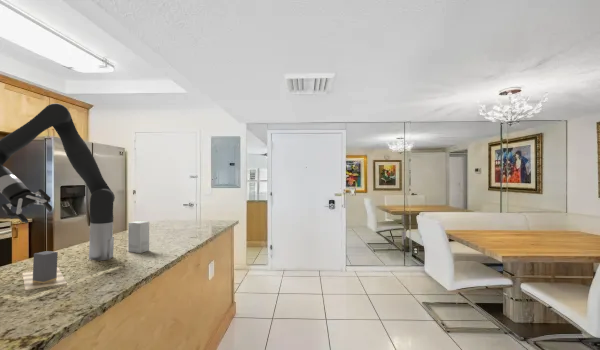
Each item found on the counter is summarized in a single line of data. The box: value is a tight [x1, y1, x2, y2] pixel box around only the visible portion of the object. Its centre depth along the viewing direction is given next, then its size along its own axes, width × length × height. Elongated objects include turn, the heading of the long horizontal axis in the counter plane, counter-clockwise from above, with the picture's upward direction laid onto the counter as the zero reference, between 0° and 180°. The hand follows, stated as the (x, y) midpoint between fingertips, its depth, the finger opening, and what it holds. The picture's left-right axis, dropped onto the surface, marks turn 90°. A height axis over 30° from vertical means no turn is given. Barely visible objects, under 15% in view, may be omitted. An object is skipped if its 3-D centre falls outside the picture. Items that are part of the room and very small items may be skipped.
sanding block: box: [32, 250, 58, 283], centre depth 110 cm, size 5×4×10 cm
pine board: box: [22, 267, 68, 291], centre depth 113 cm, size 24×11×1 cm, turn 44°
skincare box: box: [127, 220, 150, 254], centre depth 160 cm, size 8×7×16 cm
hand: (39, 216), depth 123 cm, fingers open, 8 cm apart
